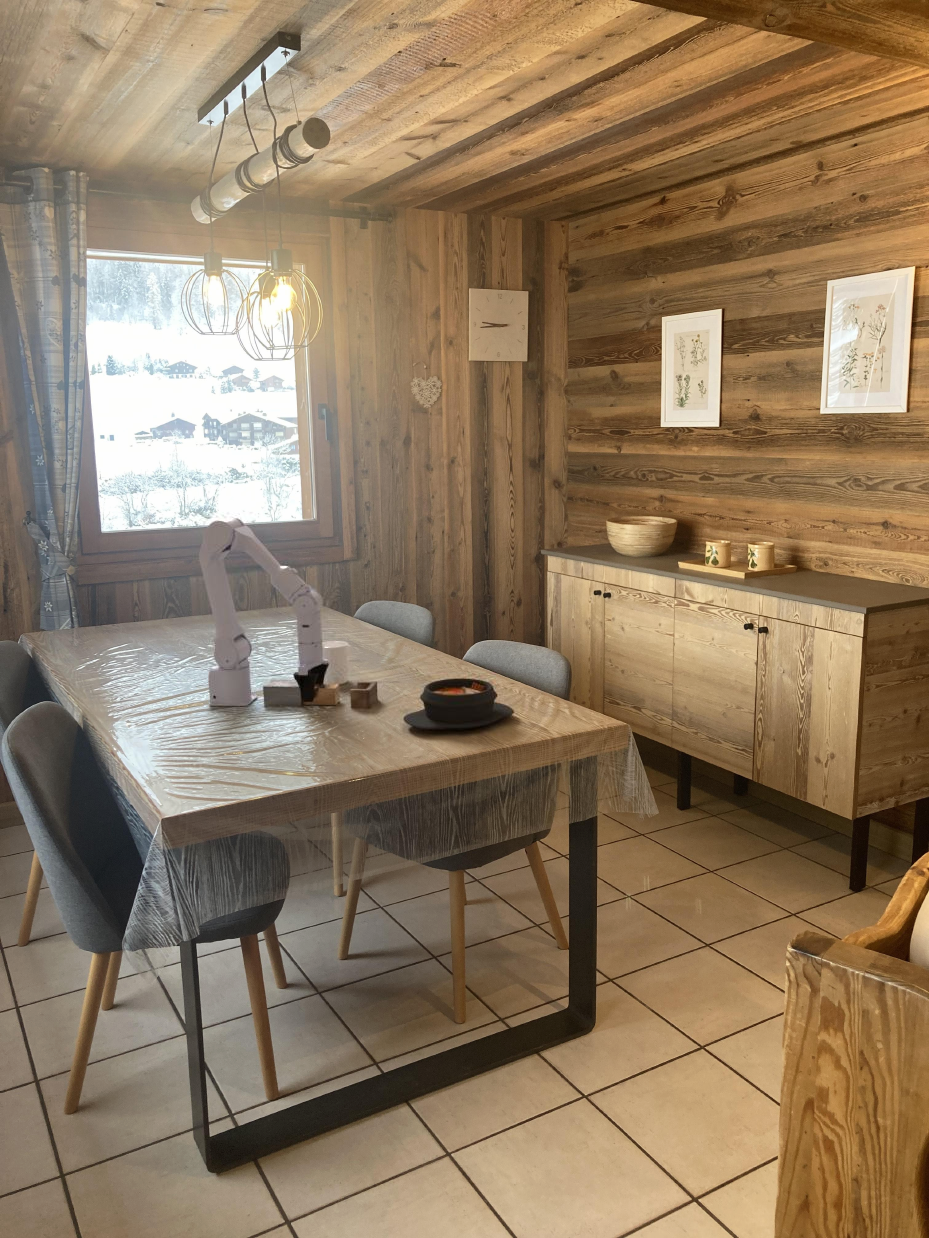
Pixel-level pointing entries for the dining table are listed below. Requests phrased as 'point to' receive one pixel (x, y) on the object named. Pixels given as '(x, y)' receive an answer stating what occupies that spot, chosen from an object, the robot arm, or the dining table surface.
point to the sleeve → (282, 693)
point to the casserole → (458, 705)
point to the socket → (364, 695)
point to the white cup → (336, 662)
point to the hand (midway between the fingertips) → (312, 697)
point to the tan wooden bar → (325, 695)
